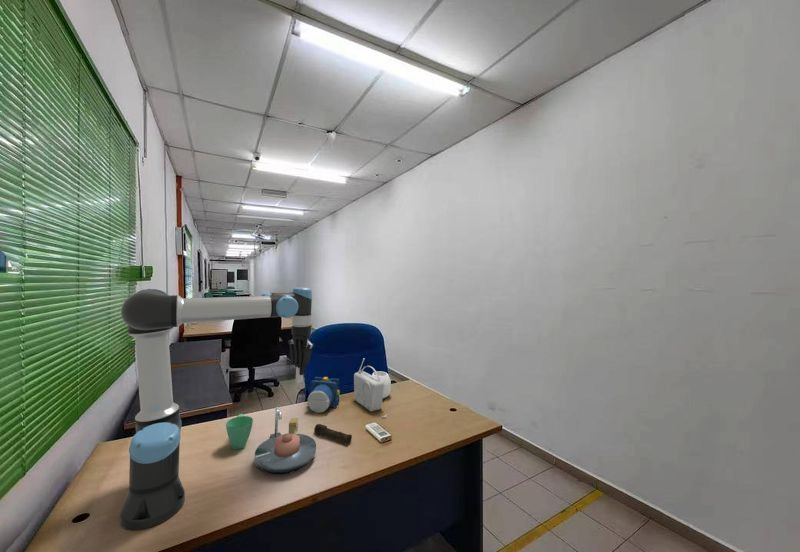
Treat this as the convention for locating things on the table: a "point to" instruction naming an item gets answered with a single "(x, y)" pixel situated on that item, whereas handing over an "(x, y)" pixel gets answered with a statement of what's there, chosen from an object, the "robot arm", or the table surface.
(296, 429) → the turntable
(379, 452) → the table surface
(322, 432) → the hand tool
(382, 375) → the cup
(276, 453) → the cover
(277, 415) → the indicator stand
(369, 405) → the radio
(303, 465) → the turntable base
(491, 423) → the table surface
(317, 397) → the valve
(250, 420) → the mug
